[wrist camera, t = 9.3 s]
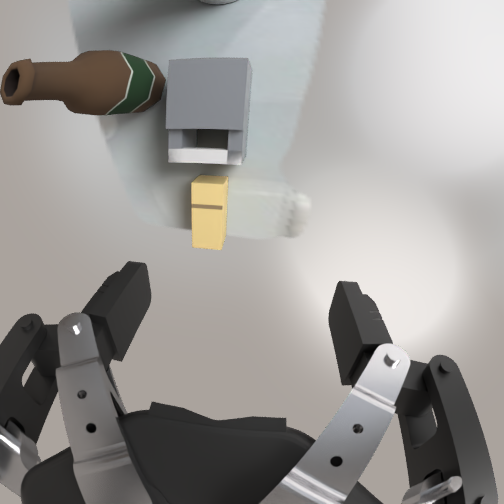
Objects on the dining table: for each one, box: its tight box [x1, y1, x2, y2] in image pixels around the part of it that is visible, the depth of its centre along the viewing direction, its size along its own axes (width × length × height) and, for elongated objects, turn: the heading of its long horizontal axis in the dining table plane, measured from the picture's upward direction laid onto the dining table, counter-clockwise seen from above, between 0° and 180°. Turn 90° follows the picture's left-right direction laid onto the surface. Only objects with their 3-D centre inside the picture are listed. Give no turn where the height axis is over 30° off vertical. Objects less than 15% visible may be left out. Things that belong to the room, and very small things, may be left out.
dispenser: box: [166, 58, 252, 165], centre depth 29 cm, size 12×8×8 cm
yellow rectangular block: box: [191, 175, 228, 250], centre depth 37 cm, size 9×4×4 cm, turn 176°
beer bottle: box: [0, 50, 166, 115], centre depth 20 cm, size 8×8×24 cm
